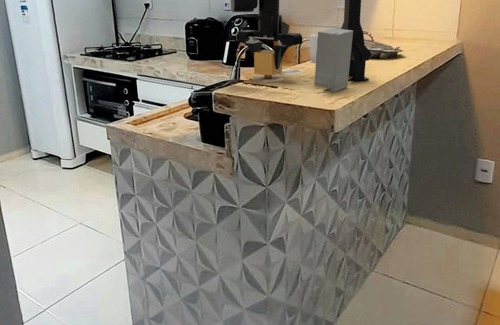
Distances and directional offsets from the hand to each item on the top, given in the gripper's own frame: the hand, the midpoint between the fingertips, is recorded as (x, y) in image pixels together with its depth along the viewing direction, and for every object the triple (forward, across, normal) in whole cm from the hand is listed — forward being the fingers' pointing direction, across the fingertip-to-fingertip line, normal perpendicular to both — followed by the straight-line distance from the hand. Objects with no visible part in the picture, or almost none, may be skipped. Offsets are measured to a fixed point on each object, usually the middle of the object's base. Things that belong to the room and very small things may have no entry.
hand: (268, 68), depth 141 cm
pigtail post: (+3, 0, 0) cm, 3 cm away
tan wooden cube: (+1, 0, 0) cm, 1 cm away
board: (+4, 0, -6) cm, 7 cm away
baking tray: (+5, -5, -69) cm, 69 cm away
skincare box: (+4, -19, -2) cm, 20 cm away
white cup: (+4, +1, -38) cm, 38 cm away
